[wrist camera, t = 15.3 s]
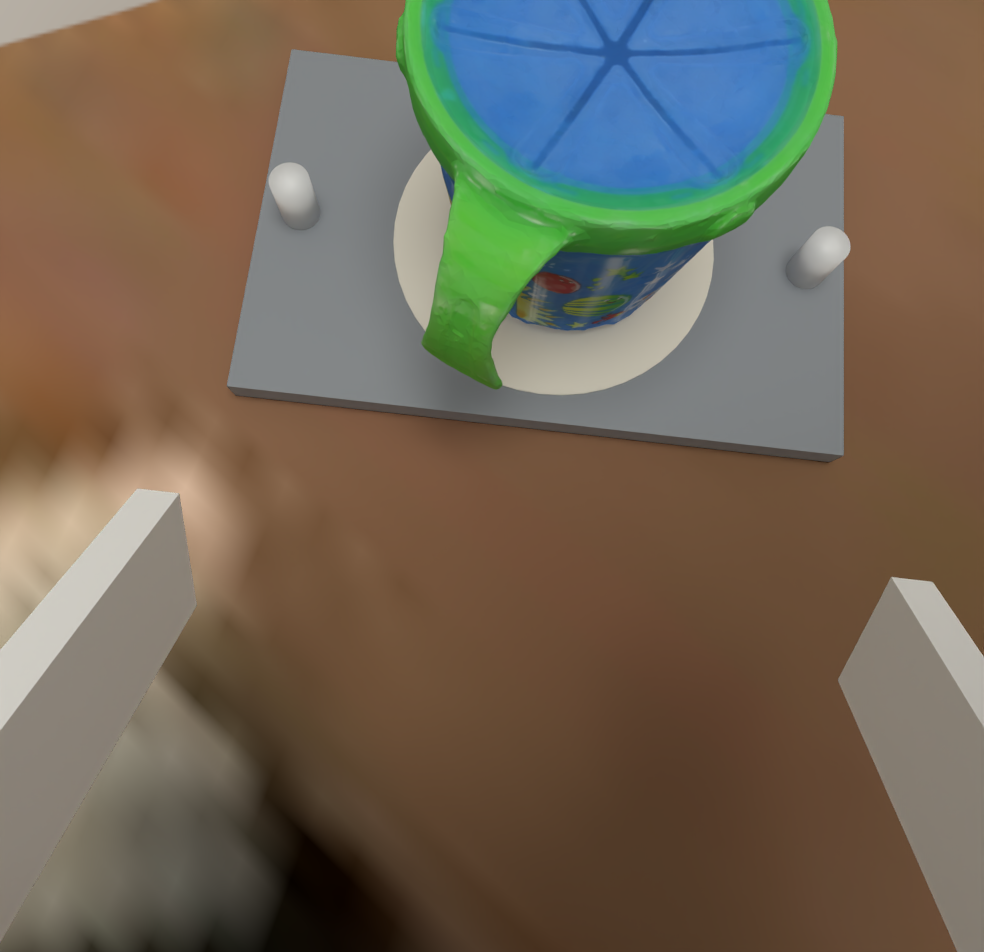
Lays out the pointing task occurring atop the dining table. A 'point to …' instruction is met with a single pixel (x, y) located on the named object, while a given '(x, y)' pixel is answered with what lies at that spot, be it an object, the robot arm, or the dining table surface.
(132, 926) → the dining table surface
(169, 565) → the robot arm
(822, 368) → the locating board
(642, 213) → the snack cup
